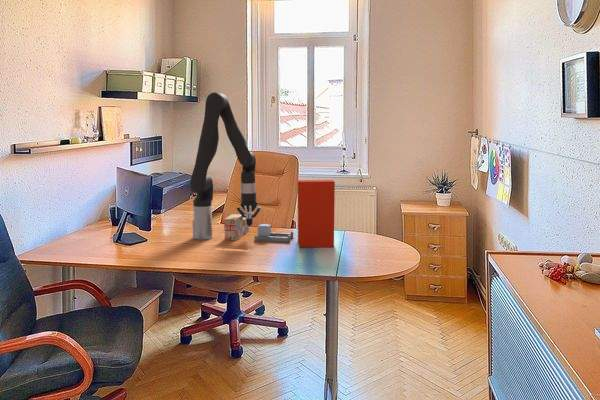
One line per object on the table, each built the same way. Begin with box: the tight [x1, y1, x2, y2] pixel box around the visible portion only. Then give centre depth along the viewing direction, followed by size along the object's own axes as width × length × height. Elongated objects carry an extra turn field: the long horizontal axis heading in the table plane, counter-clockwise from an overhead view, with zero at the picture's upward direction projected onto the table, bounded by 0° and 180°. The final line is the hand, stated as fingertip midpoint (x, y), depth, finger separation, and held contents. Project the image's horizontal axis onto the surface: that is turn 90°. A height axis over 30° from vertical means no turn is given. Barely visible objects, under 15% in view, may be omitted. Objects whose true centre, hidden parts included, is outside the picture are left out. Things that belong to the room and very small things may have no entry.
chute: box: [253, 230, 294, 244], centre depth 246 cm, size 18×9×5 cm, turn 80°
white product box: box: [223, 213, 250, 241], centre depth 254 cm, size 21×6×12 cm, turn 169°
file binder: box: [297, 179, 336, 248], centre depth 236 cm, size 8×17×32 cm, turn 93°
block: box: [257, 223, 272, 236], centre depth 246 cm, size 6×6×7 cm
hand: (249, 225), depth 247 cm, fingers closed
